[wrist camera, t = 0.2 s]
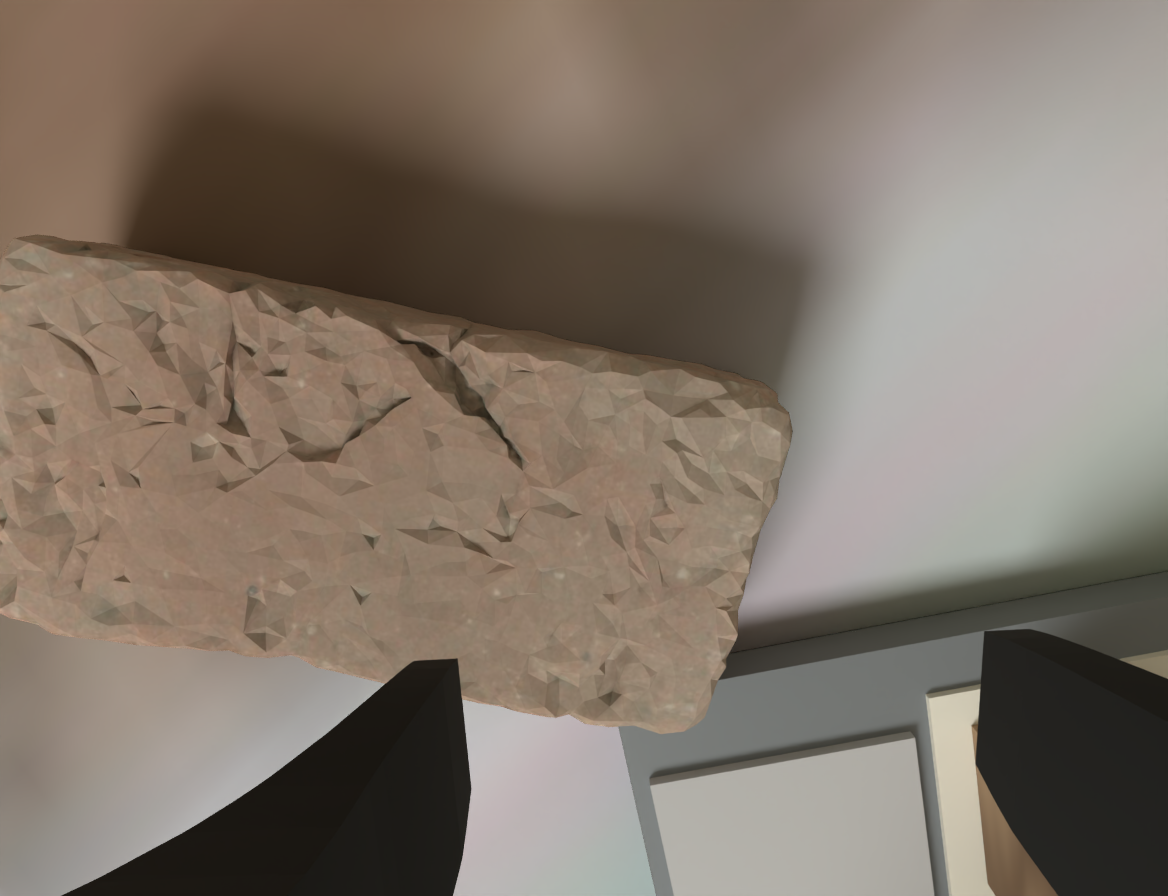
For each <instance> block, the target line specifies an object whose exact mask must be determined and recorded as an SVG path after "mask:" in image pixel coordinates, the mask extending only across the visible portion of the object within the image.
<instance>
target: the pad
mask: <svg viewBox="0 0 1168 896" xmlns="http://www.w3.org/2000/svg"><path fill="white" fill-rule="evenodd" d="M649 782H650V788H651V793H652V797H653V802H654V806H655V811H656V816H657V820H658V825H659V829H660V834H661V839H662V843H663V848H664V853H665V857H666V862H667V866H668V871H669V876H670V880H671V885H672V889H673V894H674V896H934V888H933V880H932V872H931V864H930V856H929V847H928V839H927V831H926V823H925V815H924V807H923V798H922V790H921V782H920V774H919V766H918V758H917V749H916V741H915V737H914V736H913V734H912V733H911V731H908V732H903V733H897V734H892V735H886V736H881V737H875V738H870V739H864V740H859V741H853V742H848V743H842V744H837V745H831V746H826V747H820V748H814V749H809V750H803V751H798V752H792V753H787V754H781V755H776V756H770V757H765V758H759V759H754V760H748V761H743V762H737V763H732V764H726V765H721V766H715V767H710V768H704V769H698V770H693V771H687V772H682V773H676V774H671V775H665V776H660V777H654V778H649Z"/></svg>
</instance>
